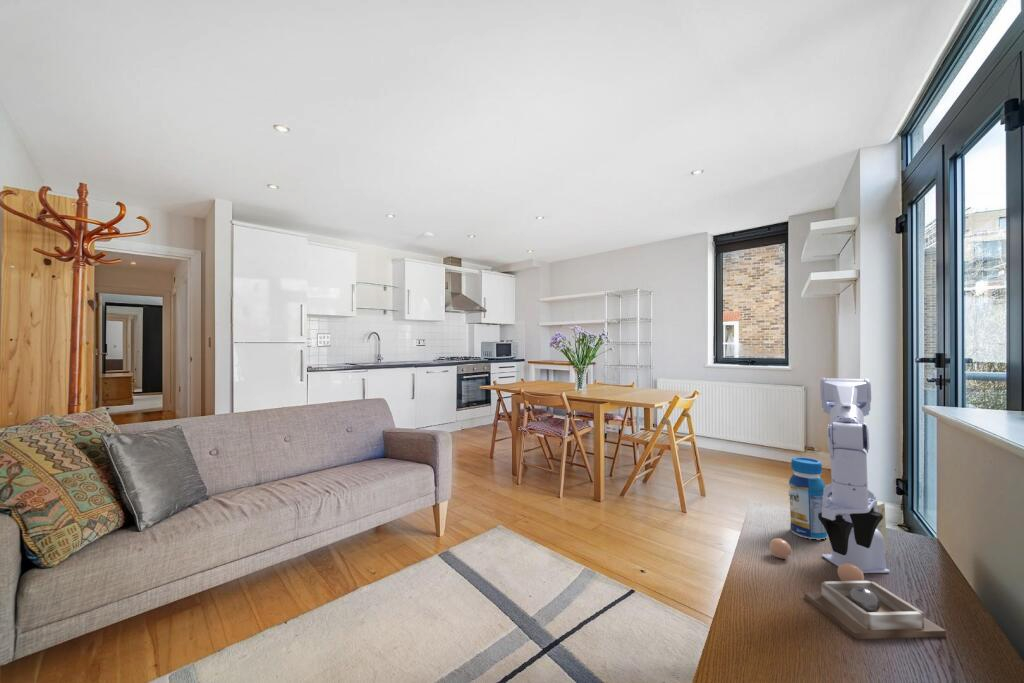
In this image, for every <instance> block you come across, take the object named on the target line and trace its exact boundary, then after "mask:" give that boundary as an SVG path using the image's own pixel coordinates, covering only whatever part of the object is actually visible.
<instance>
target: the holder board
mask: <svg viewBox="0 0 1024 683" xmlns="http://www.w3.org/2000/svg"><path fill="white" fill-rule="evenodd" d="M820 583H821V591H814V592H811V591H810V592H804V599H806V600H807V601H808V602H809V603H811V604H812V605H813V606H814V607H816V608H817V609H818V610H819V611H820V612H821V613H823V614H824V615H825V616H827V617H828V618H829V619H830V620H832V621H833V622H834V623H835V624H837V626H839V627H840V628H841V629H842V630H843V631H845V632H847V633H848V635H850V636H851V637H853V638H854V639H855V640H867V639H906V638H907V639H909V638H910V639H911V638H912V639H913V638H942V637H943V638H944V637H945V638H946V637H947V630H945V629H944V628H943V627H941V626H939V625H937V624H936V623H934V622H933V621H932V620H929V619H928V618H927V617H924V616H925V614H924V613H925V612H924V611H922V610H920V609H919V608H917V607H915V606H913V605H912V604H910V603H909V602H908V601H906V600H904V599H902V598H901V597H899V596H897V595H896V594H895V593H893V592H891V591H889V590H888V589H887V588H884V587H883V586H881V585H880V584H878V583H876V582H875V581H869V580H864V581H842V580H837V581H836V580H835V581H833V580H831V581H830V580H829V581H823V582H820ZM854 587H864V588H867V589H869V590H870V591H872V592H873V593H874V594H875V595H876V596H877V598H878V600H879V603H880V608H879V610H878V612H866V611H864V610H863V609H862V608H860V607H859V606H857V605H856V604H855V603H853V602H852V601H850V600H849V592H850V590H851V589H852V588H854Z"/></svg>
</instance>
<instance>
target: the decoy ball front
mask: <svg viewBox="0 0 1024 683" xmlns="http://www.w3.org/2000/svg"><path fill="white" fill-rule="evenodd" d="M769 550H770V552H771V554H772V555H773V556H775V557H776V558H779V559H783V560H784V559H787V558H789V557H790V556H791V554H792V548H791V546H790V544H789V542H787V541H786V540H785V539H783V538H773V539H772V540H771V541H770V542H769Z"/></svg>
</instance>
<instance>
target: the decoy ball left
mask: <svg viewBox="0 0 1024 683" xmlns="http://www.w3.org/2000/svg"><path fill="white" fill-rule="evenodd" d="M864 574H865V573H863V572H862V571H861V570H860V568H858V567H857V566H856V565H854V564H851V563H843V564H841V565H840V566H839V567H838V566H837V576H838V577H839V579H840V581H865V575H864Z"/></svg>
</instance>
